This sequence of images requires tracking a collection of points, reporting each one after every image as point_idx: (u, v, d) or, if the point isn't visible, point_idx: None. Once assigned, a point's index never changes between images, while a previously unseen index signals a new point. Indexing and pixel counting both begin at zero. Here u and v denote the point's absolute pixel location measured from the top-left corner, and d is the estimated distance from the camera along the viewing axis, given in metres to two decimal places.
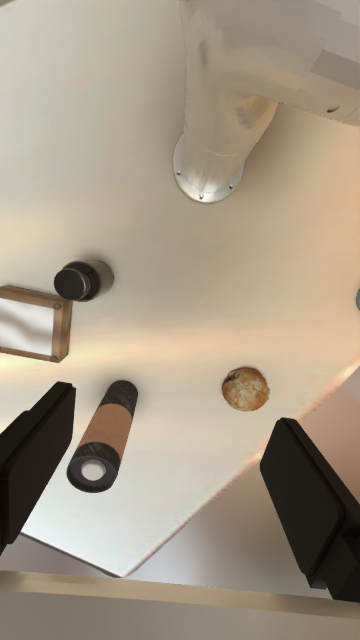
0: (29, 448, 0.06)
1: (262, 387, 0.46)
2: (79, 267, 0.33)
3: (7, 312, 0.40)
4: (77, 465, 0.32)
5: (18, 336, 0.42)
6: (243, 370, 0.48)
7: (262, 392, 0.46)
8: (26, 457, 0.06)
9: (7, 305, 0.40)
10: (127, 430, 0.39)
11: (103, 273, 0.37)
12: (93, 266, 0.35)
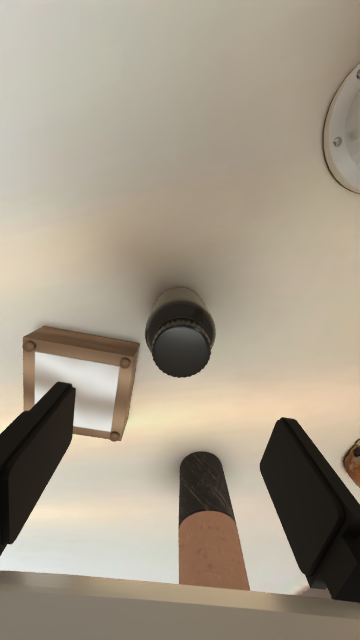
0: (29, 448, 0.06)
1: None
2: (188, 313, 0.18)
3: (47, 372, 0.26)
4: None
5: None
6: None
7: None
8: (26, 457, 0.06)
9: (47, 362, 0.25)
10: (244, 564, 0.24)
11: None
12: (204, 307, 0.20)
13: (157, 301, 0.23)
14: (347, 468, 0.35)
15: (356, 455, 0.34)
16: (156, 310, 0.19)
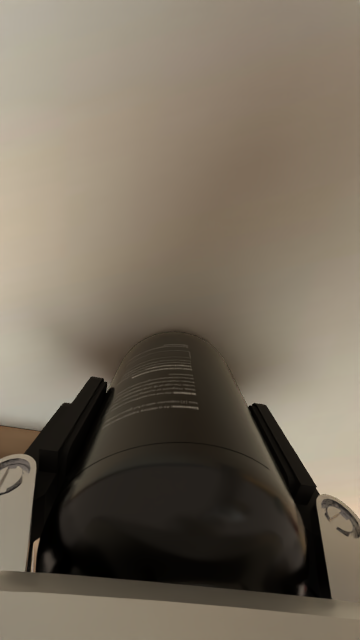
0: (79, 434, 0.07)
1: None
2: (211, 553, 0.04)
3: None
4: None
5: None
6: None
7: None
8: (77, 441, 0.07)
9: None
10: None
11: None
12: (264, 463, 0.05)
13: (113, 386, 0.09)
14: None
15: None
16: (70, 503, 0.04)
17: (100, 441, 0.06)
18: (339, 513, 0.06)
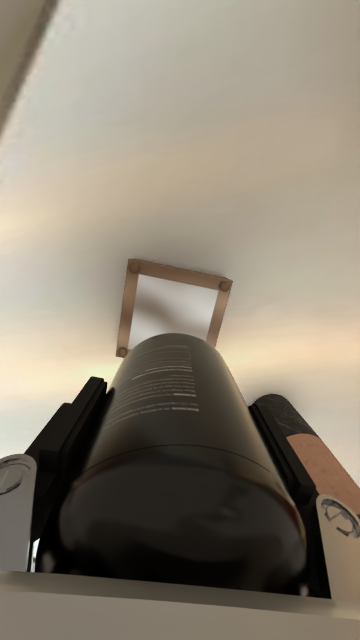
0: (79, 434, 0.07)
1: None
2: (211, 557, 0.04)
3: (147, 297, 0.26)
4: None
5: (157, 333, 0.28)
6: None
7: None
8: (77, 441, 0.07)
9: (149, 286, 0.26)
10: None
11: None
12: (265, 466, 0.05)
13: (113, 388, 0.09)
14: None
15: None
16: (69, 506, 0.04)
17: (100, 443, 0.06)
18: (339, 513, 0.06)
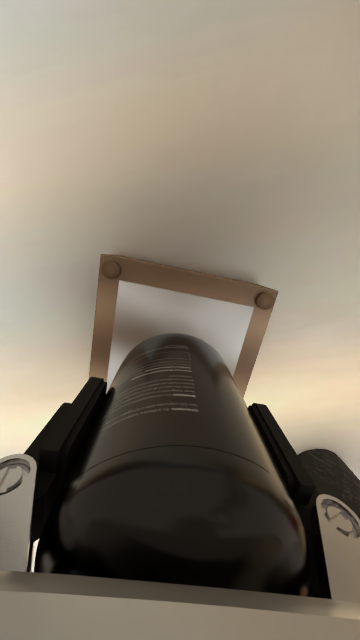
0: (79, 433, 0.07)
1: None
2: (210, 558, 0.04)
3: (134, 318, 0.16)
4: None
5: None
6: None
7: None
8: (77, 441, 0.07)
9: (137, 300, 0.15)
10: None
11: None
12: (265, 466, 0.05)
13: (112, 388, 0.09)
14: None
15: None
16: (69, 507, 0.04)
17: (99, 444, 0.06)
18: (339, 513, 0.06)
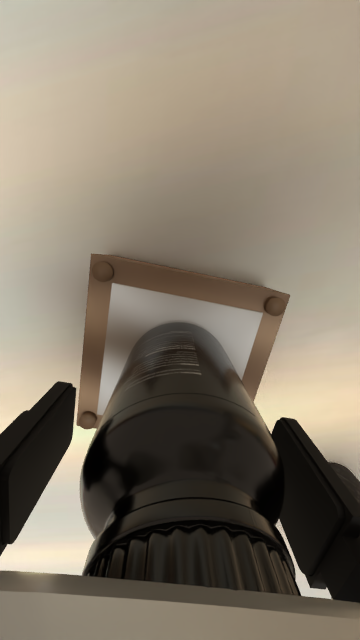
0: (29, 448, 0.06)
1: None
2: (211, 460, 0.05)
3: (129, 325, 0.14)
4: None
5: None
6: None
7: None
8: (26, 457, 0.06)
9: (133, 305, 0.14)
10: None
11: None
12: (251, 412, 0.07)
13: (128, 364, 0.10)
14: None
15: None
16: (108, 434, 0.06)
17: (125, 397, 0.07)
18: None
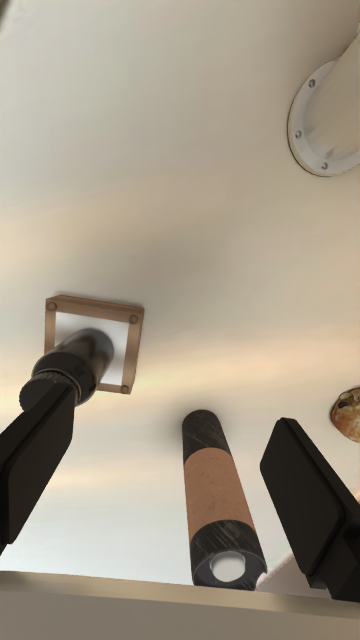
0: (29, 448, 0.06)
1: None
2: (62, 363, 0.21)
3: (66, 330, 0.30)
4: (204, 560, 0.21)
5: None
6: None
7: None
8: (26, 457, 0.06)
9: (66, 321, 0.30)
10: None
11: (99, 358, 0.25)
12: (84, 355, 0.23)
13: None
14: (333, 420, 0.40)
15: (340, 407, 0.39)
16: (38, 360, 0.22)
17: None
18: None
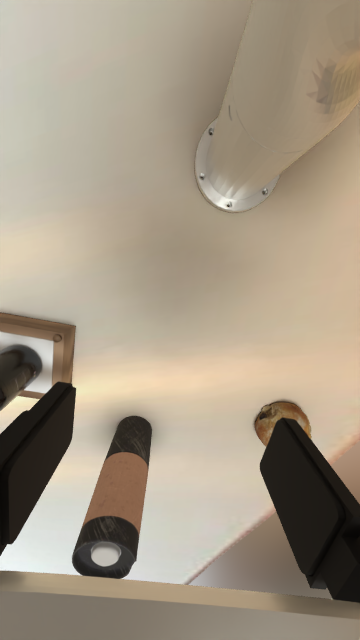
0: (29, 448, 0.06)
1: (305, 427, 0.40)
2: None
3: None
4: (85, 548, 0.25)
5: None
6: (280, 405, 0.41)
7: None
8: (26, 457, 0.06)
9: None
10: (144, 487, 0.32)
11: (13, 375, 0.29)
12: None
13: None
14: None
15: (261, 418, 0.42)
16: None
17: None
18: None
